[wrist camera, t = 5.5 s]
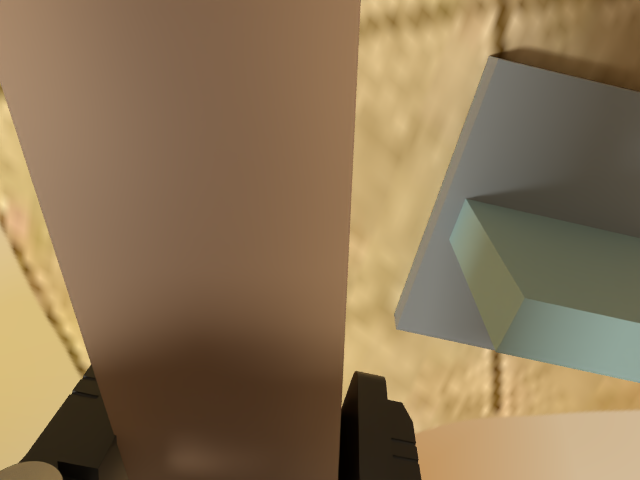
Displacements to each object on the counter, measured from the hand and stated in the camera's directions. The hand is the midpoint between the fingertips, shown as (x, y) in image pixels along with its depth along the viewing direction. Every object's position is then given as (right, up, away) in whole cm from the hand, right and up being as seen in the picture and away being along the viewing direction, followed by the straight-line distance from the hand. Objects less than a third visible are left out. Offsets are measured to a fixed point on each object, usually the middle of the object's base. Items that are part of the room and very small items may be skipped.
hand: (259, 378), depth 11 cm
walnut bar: (0, 0, +1) cm, 1 cm away
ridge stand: (+14, +4, +14) cm, 20 cm away
